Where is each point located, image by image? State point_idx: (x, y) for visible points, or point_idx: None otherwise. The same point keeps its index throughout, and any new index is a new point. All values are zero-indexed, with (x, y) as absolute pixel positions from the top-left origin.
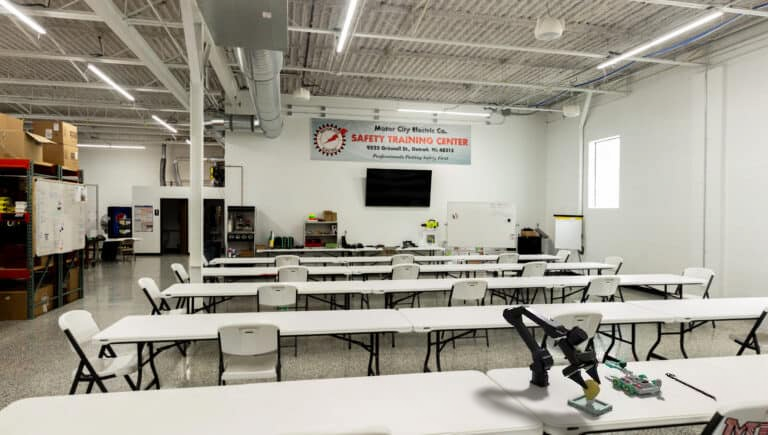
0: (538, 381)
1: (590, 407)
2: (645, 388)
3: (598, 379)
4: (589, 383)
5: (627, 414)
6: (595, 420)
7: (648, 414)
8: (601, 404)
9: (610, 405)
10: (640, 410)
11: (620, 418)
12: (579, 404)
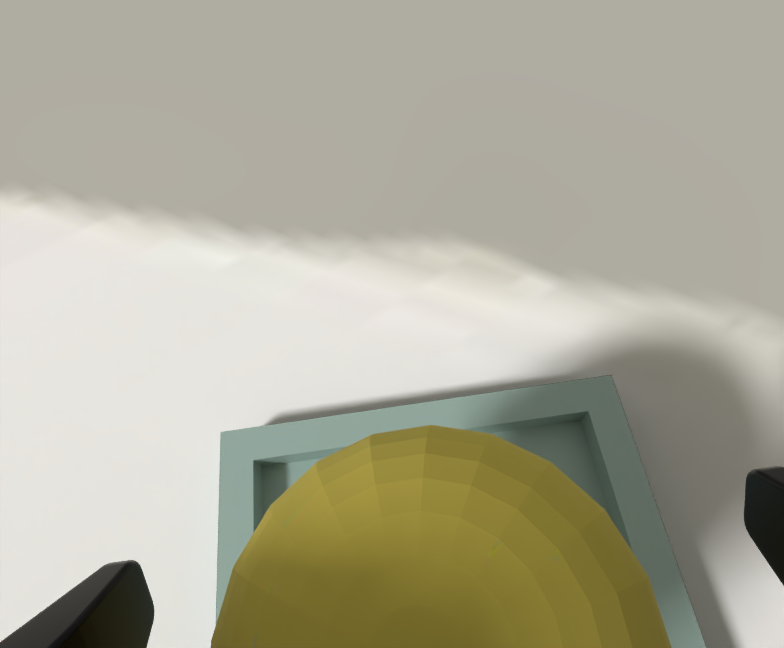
0: None
1: None
2: None
3: (63, 640)
4: (606, 585)
5: (217, 304)
6: (671, 332)
7: (41, 243)
8: None
9: (254, 432)
10: (10, 313)
11: (365, 277)
12: (686, 644)
